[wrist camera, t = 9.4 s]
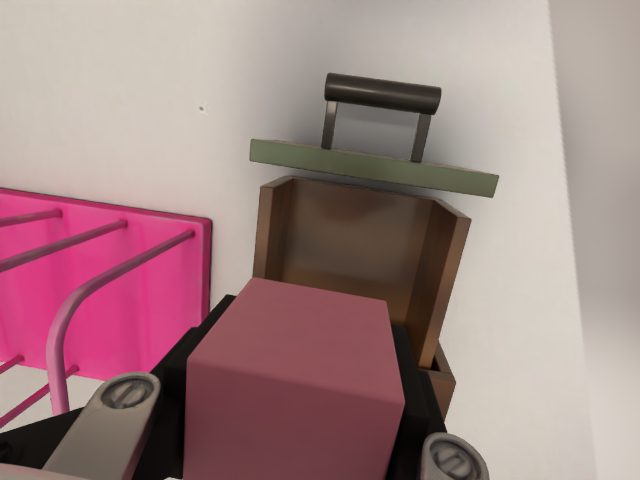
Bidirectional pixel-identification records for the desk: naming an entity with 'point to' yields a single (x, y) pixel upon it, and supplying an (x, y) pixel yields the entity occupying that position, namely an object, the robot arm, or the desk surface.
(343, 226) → the drawer
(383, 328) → the block
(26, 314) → the file sorter
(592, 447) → the desk surface
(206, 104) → the desk surface
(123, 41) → the desk surface
